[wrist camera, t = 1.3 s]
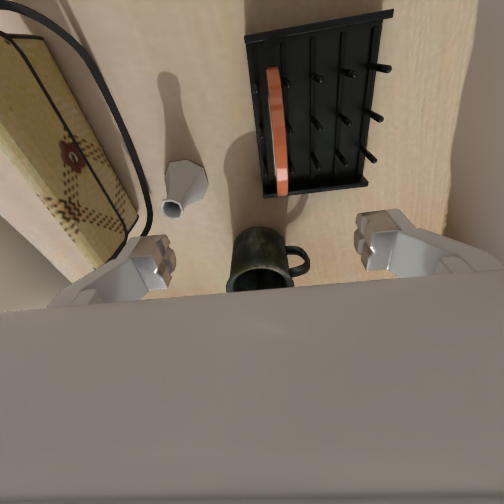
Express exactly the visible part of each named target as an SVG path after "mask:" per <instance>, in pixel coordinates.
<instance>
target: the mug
mask: <svg viewBox="0 0 504 504" xmlns="http://www.w3.org/2000/svg"><path fill="white" fill-rule="evenodd" d="M287 255H299V256H300V257H302V258H303V259H304V261H305V262H304V263H303V264H302V265H300V266H297V267H293V268H289V265H288V259H287ZM309 269H310V259H309V257H308V255H307V253H306V252H305V251H304V250H303V249H302V248H300V247H297V246H286V245H285V241H284V239H283V238H282V236H281V235H280V234H279V233H277V232H276V231H274V230H272V229H269V228H264V227H256V228H251V229H248V230H246V231H244V232H243V233H241V234H240V235H239V236H238V237H237V238H236V240H235V242H234V245H233V253H232V262H231V271H230V278H229V280H228V281H227V284H226V292H227V293H231V292H242V291H254V290H266V289H278V288H289V287H294V282H293V280H292V277H297V276H300V275H303V274H305V273H307V272H308V271H309Z"/></svg>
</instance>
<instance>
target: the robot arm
mask: <svg viewBox="0 0 504 504" xmlns="http://www.w3.org/2000/svg"><path fill="white" fill-rule="evenodd" d="M356 225H357V226H358V228H357V230H356V231H355V232H354V245H355V249H356V251H357V253H358V254H360V255H362V256H361V261H362V263H363V265H364V267H365V269H366V271H369V270H385V269H389V271H390V272H392V273H393V274H395V275H396V276H398V277H399V278H395V279H383V280H371V281H359V282H348V283H336V284H324V285H313V286H301V287H289V288H278V289H266V290H254V291H242V292H231V293H219V294H207V295H195V296H184V297H172V298H160V299H148V300H140V299H141V298H143V297H144V296H145V295H146V294H147V293H148V292H149V290H157V289H166V288H168V286H169V283H170V280H171V278H172V277H171V275H170V274H171V273H172V272H173V271H174V270H175V267H176V257H175V253H174V251H173V250H172V249H171V248H169V247H168V246H169V244H170V241H169V239H168V237H167V236H166V235H165V234H163V235H151V236H140V237H133V238H130V239H129V241H128V242H127V244H126V245H125V246H124V248H123V249H122V251H121V252H120V254H119V255H118V257H117V258H116V259H113V260H111V261H109V262H107V263H106V264H104V265H102V266H101V267H99V268H97V269H96V270H94V271H92V272H91V273H89V274H88V275H86V276H84V277H83V278H81V279H79V280H78V281H76V282H74V283H73V284H71V285H69V286H68V287H66V288H65V289H63V290H61V291H60V292H59V293H58V294H57V295H56V297H55V298H54V299H53V300H52V301H51V302H50V304H49V305H48V306H47V307H46V308H44V309H31V310H20V311H7V312H0V504H504V265H503V264H502V263H501V262H500V261H498V260H497V259H496V258H495V257H494V256H493V255H491V254H490V253H489V252H487V251H484V250H481V249H478V248H475V247H473V246H470V245H467V244H464V243H461V242H458V241H455V240H453V239H450V238H447V237H444V236H441V235H439V234H436V233H433V232H430V231H427V230H424V229H422V228H418V229H417V228H416V227H415V226H414V225H413V224H412V223H411V222H410V221H409V220H408V219H407V218H406V216H405V215H404V214H403V213H402V212H401V211H400V210H399V209H396V208H395V209H388V210H381V211H373V212H366V213H359V214H357V217H356Z"/></svg>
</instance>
